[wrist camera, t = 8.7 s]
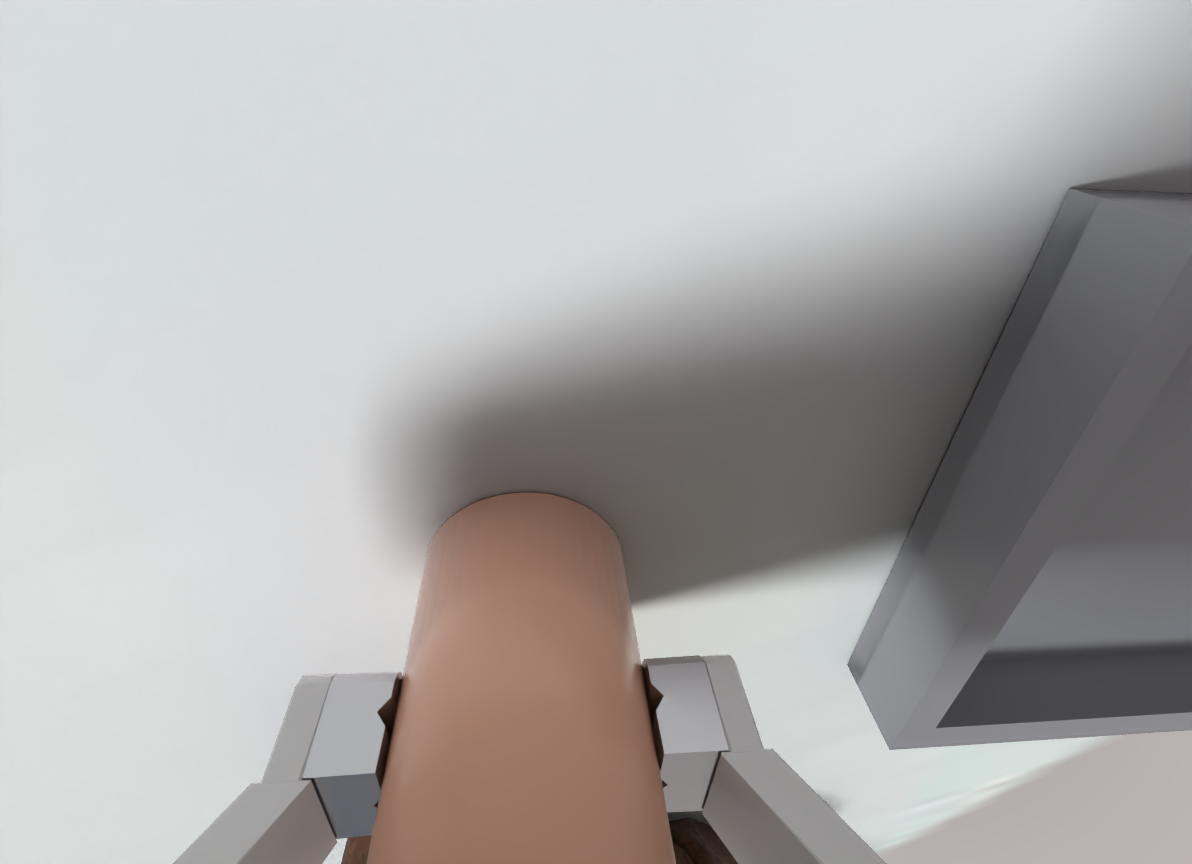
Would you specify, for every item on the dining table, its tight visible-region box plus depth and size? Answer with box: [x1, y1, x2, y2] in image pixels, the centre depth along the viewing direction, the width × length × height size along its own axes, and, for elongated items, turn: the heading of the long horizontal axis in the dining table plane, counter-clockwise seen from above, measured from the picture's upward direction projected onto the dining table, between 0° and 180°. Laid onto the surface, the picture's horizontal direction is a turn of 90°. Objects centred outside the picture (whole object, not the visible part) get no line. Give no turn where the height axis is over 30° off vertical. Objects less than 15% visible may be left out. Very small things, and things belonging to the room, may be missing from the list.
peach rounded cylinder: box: [366, 492, 676, 864], centre depth 9 cm, size 4×4×7 cm
